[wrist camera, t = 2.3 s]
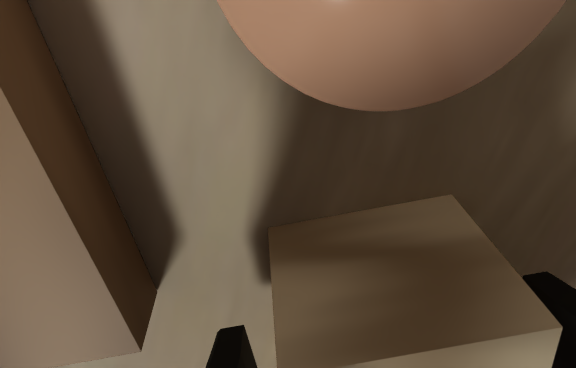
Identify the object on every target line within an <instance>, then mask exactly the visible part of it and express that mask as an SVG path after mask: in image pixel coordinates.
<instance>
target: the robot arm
mask: <svg viewBox="0 0 576 368" xmlns="http://www.w3.org/2000/svg"><path fill="white" fill-rule="evenodd" d="M522 279H523V280H524V281H525V282H526V284H527V285H528V286H529V287H530V288H531V290H532V291H533V292H534V293H535V294H536V296H537V297H538V298H539V299H540V300H541V302H542V303H543V304H544V305H545V306H546V308H547V309H548V310H549V311H550V312H551V314H552V315H553V316H554V317H555V318H556V320H557V321H558V322H559V323H560V324H561V326H562V327H563V328H562V332H561V336H560V339H559V343H558V346H557V350H556V353H555V357H554V361H553V364H552V368H576V289H574V288H573V287H571V286H570V285H568V284H566V283H565V282H563V281H562V280H560V279H558V278H557V277H555V276H554V275H552V274H550V273H549V272H541V273H535V274H530V275H524V276H523V278H522ZM206 368H257V365H256V362H255V359H254V356H253V352H252V349H251V346H250V343H249V340H248V337H247V333H246V330H245V327H244V325H240V326H235V327H229V328H223V329H220V330H219V331H218V332H217V335H216V338H215V342H214V345H213V348H212V351H211V354H210V357H209V359H208V362H207V365H206Z"/></svg>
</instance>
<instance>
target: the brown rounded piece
mask: <svg viewBox="0 0 576 368" xmlns="http://www.w3.org/2000/svg"><path fill="white" fill-rule="evenodd" d="M217 2H218V4H219V6H220V7H221V9H222V11H223V13H224V14H225V16H226V18H227V20H228V21H229V23H230V25H231V27H232V28H233V29H234V31H235V32H236V33H237V35H238V36H239V37H240V39H241V40H242V41H243V43H244V44H245V46H246V47H247V48H248V49H249V50H250V51H251V52H252V53H253V54H254V55H255V56H256V58H257V59H258V60H259V61H260V62H261V63H262V64H263V65H264V66H265V67H266V68H268V69H269V70H270V71H271V72H273V73H274V74H275V75H276V76H278V77H279V78H280V79H281V80H283V81H284V82H286V83H287V84H289V85H291V86H292V87H294V88H296V89H297V90H299V91H301V92H302V93H304V94H306V95H309V96H311V97H313V98H316V99H318V100H320V101H323V102H325V103H329V104H333V105H336V106H340V107H343V108H348V109H355V110H363V111H396V110H404V109H412V108H416V107H420V106H424V105H428V104H432V103H435V102H438V101H441V100H443V99H446V98H449V97H451V96H454V95H456V94H458V93H460V92H462V91H464V90H466V89H468V88H470V87H472V86H474V85H476V84H478V83H479V82H481V81H483V80H484V79H486V78H487V77H489V76H490V75H492V74H493V73H495V72H497V71H498V70H499V69H501V68H502V67H503V66H504V65H506V64H507V63H508V62H509V61H511V60H512V59H513V58H514V57H516V56H517V55H518V54H519V53H520V52H521V51H522V50H523V49H525V48H526V47H527V46H528V45H529V44H530V43H531V42H532V41H533V40H534V39H535V38H536V37H537V36H538V35H539V34H540V33H541V31H542V30H543V29H544V28H545V27H546V26H547V24H548V23H549V22H550V21H551V20H552V19H553V17H554V16H555V15H556V14H557V13H558V11H559V10H560V9H561V7H562V6H563V4H564V3H565V2H566V0H217Z"/></svg>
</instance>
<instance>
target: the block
mask: <svg viewBox="0 0 576 368" xmlns="http://www.w3.org/2000/svg"><path fill="white" fill-rule="evenodd" d="M268 239H269V254H270V269H271V284H272V299H273V314H274V329H275V344H276V359H277V368H552V364H553V361H554V357H555V353H556V350H557V346H558V343H559V339H560V336H561V332H562V328H563V327H562V326H561V324H560V323H559V322H558V321H557V320H556V318H555V317H554V316H553V315H552V314H551V312H550V311H549V310H548V309H547V308H546V306H545V305H544V304H543V303H542V302H541V300H540V299H539V298H538V297H537V296H536V294H535V293H534V292H533V291H532V290H531V288H530V287H529V286H528V285H527V284H526V282H525V281H524V280H523V279H522V278H521V277H520V275H519V274H518V273H517V272H516V271H515V269H514V268H513V267H512V266H511V265H510V263H509V262H508V261H507V260H506V259H505V257H504V256H503V255H502V254H501V253H500V251H499V250H498V249H497V248H496V247H495V245H494V244H493V243H492V242H491V241H490V239H489V238H488V237H487V236H486V235H485V234H484V232H483V231H482V230H481V229H480V228H479V226H478V225H477V224H476V223H475V222H474V220H473V219H472V218H471V217H470V216H469V214H468V213H467V212H466V211H465V210H464V208H463V207H462V206H461V205H460V204H459V202H458V201H457V200H456V199H455V198H454V196H453V195H452V194H450V195H445V196H439V197H434V198H428V199H423V200H417V201H412V202H406V203H401V204H395V205H390V206H384V207H379V208H373V209H368V210H362V211H357V212H352V213H346V214H341V215H335V216H330V217H324V218H319V219H313V220H308V221H302V222H297V223H291V224H286V225H280V226H275V227H269V228H268Z"/></svg>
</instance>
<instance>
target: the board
mask: <svg viewBox="0 0 576 368" xmlns="http://www.w3.org/2000/svg"><path fill="white" fill-rule="evenodd" d="M156 295H157V290H156V288H155V286H154V283H153V281H152V279H151V277H150V274H149V272H148V270H147V268H146V266H145V263H144V261H143V259H142V257H141V254H140V252H139V250H138V248H137V245H136V243H135V241H134V239H133V237H132V234H131V232H130V230H129V228H128V225H127V223H126V221H125V219H124V216H123V214H122V212H121V210H120V208H119V205H118V203H117V201H116V199H115V196H114V194H113V192H112V190H111V187H110V185H109V183H108V181H107V179H106V176H105V174H104V172H103V170H102V167H101V165H100V163H99V161H98V158H97V156H96V154H95V152H94V149H93V147H92V145H91V143H90V141H89V138H88V136H87V134H86V132H85V129H84V127H83V125H82V123H81V120H80V118H79V116H78V114H77V112H76V109H75V107H74V105H73V103H72V100H71V98H70V96H69V94H68V91H67V89H66V87H65V85H64V83H63V80H62V78H61V76H60V74H59V71H58V69H57V67H56V65H55V62H54V60H53V58H52V56H51V54H50V51H49V49H48V47H47V45H46V42H45V40H44V38H43V36H42V33H41V31H40V29H39V27H38V25H37V22H36V20H35V18H34V16H33V13H32V11H31V9H30V7H29V4H28V2H27V0H0V368H52V367H58V366H64V365H69V364H75V363H80V362H86V361H92V360H97V359H103V358H108V357H114V356H120V355H125V354H131V353H137V352H141V350H142V346H143V343H144V339H145V335H146V332H147V328H148V324H149V321H150V317H151V313H152V310H153V306H154V302H155V298H156Z"/></svg>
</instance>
